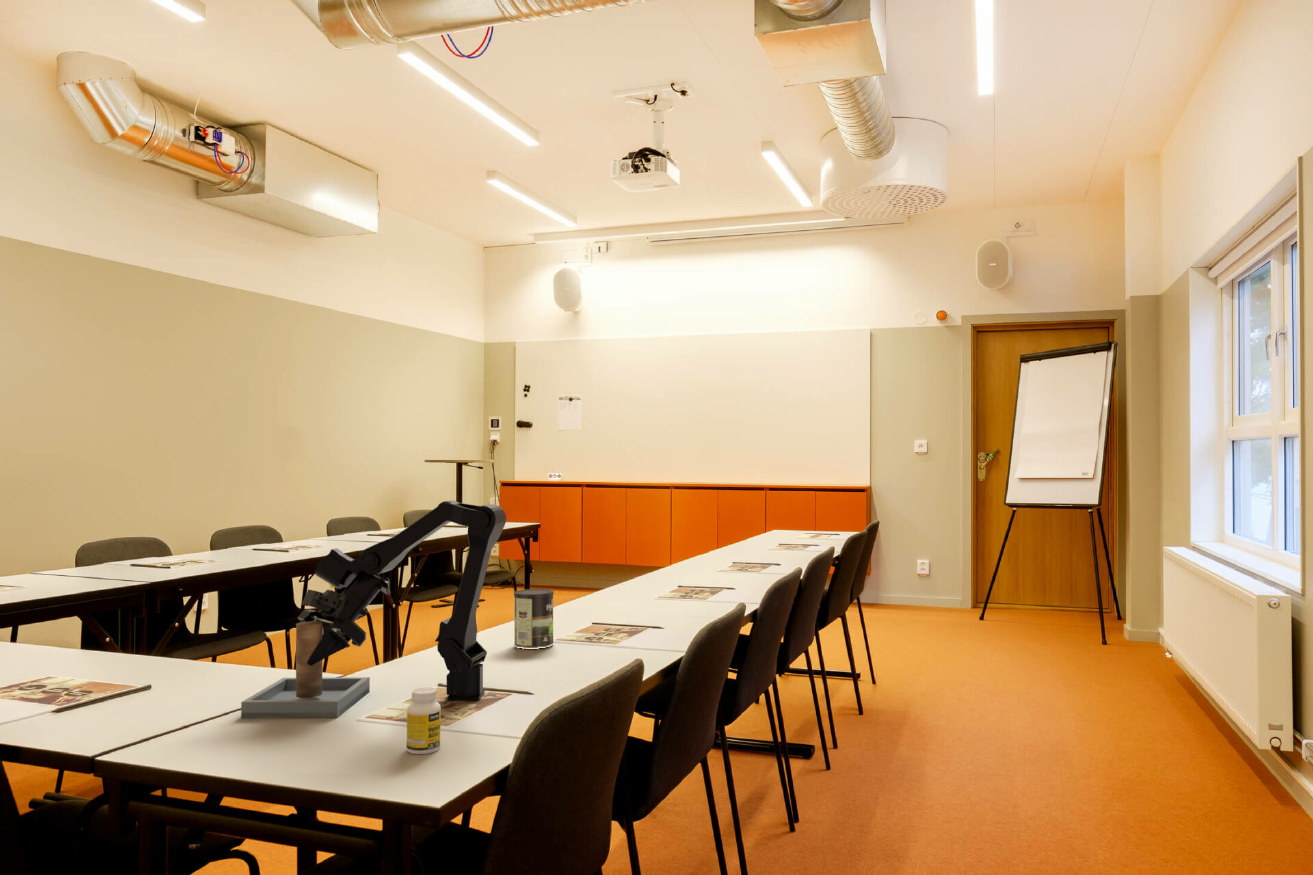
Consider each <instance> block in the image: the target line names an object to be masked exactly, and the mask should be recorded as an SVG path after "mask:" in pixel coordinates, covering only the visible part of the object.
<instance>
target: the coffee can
mask: <svg viewBox="0 0 1313 875" xmlns="http://www.w3.org/2000/svg"><path fill="white" fill-rule="evenodd" d="M554 594H555V593H554V590H552V589H548V588H547V589H546V588H526V589H525V588H524V589H519V590H518V589H517V590H515V591H513V597H514V600H513V602H514V605H513V606H514V609H513V610H514V611H513V612H514V614H513V615H514V618H513V619H514V629H513V630H514V635H513V636H514V645H515V646H516V647H523V648H538V647H547V646H550V645H552V644H554ZM514 645H513V646H514Z"/></svg>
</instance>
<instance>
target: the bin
mask: <svg viewBox="0 0 1313 875" xmlns="http://www.w3.org/2000/svg"><path fill="white" fill-rule="evenodd" d="M370 684H371V681H370V677H368V676H366V677H364V676H363V677H362V676H361V677H359V676H358V677H356V676H355V677H354V676H353V677H348V676H347V677H343V676H342V677H322V694H321V695H320V696H316V697H311V698H298V697H296V677H282V678H280V679H279V680H277V681H275V682H274V683H271V684H270V685H269V686H267V687H265V688H263V689H261V690H260V691H258V692H256V693H255V694H253V695H251V696H250V697H247V698H246V699H244V700H243V701H241V702H240V704H241V705H240V706H241V707H240V708H241V710H240V719H320V718H321V719H328V718H329V719H332V718H333V719H337V718H339V717H341V716H342V715H343V714H344V713H346V712H347V711H348V710H349V709H351V708H352V706H354V705H356V703H357V702H359V701H360V700H361V699H363V698H364V697H365V696H366V695H368V694H369V693H370V691H371V690H370V688H371V687H370V686H371V685H370Z"/></svg>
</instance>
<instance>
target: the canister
mask: <svg viewBox="0 0 1313 875" xmlns="http://www.w3.org/2000/svg"><path fill="white" fill-rule="evenodd" d="M295 625H296V626H295V633H296V634H295V636H296V637H295V638H296V639H295V646H296V647H295V656H296V660H295V678H296V697H298V698H311V697H316V696H320V695H321V694H322V678H323V660H321V661H319V662H317V663H315V664H314V665H312V666H310V665H309V664H307V661H308V659H309V658H310V656H311V654H312V653H313V651H314V650H315V648H316V647H317V646H318V644H319V643H320V641H321V640H322V622H320V621H309V622H301V621H300V622H298V623H296V624H295Z"/></svg>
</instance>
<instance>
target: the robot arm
mask: <svg viewBox="0 0 1313 875" xmlns="http://www.w3.org/2000/svg"><path fill="white" fill-rule="evenodd" d="M450 523H454V524H457V525H460V526H464V527H467V538H468V545H469V546H468V551H467V556H466V559H465V562H464V569H463V572H462V576H461V580H460V584H459V588H458V592H457V597H456V601H455V604H454V609H453V613H452V614H451V617H448V618H447V619H444V620H443V621H440V623H439V627H438V628H439V629H438V634H437V637H436V639H435V640H434V641H435V642H436V643H437V646H436V649H437V652H438V653H439V655H440V657H441V658H443V661H444V663H445V666H446V669H447V671H449V672H448V673H447V674H446V695H447V697H446V700H447V701H477V700H480V699H481V698H482V696H483V695H484V694H485V692H486V690H485V688H484V664H483V662H485V660H486V657H487V654H488V652H487V650H486V649H485V648H484V646H482V645H481V643H480V642H479V641H478V640H477V636H478V635H477V633H478V626H477V620H476V613H477V609H478V606H479V601H480V597H481V594H482V590H483V585H484V582H485V578H486V574H487V573H486V572H487V569H488V566H489V562H490V557H491V552H492V550H493V548H494V546H495V545H496V543H497V542H498V540H499V538H500V536H501V535H502V532H503V530H504V528H505V526H506V523H507V514H506V512H505V511H504V509H503V508H502V507H501V506H500V505H497V504H492V503H491V504H486V505H485V504H484V505H475V504H469V503H462V502H458V501H456V500H445V501H441V502H440V503H439V504H438V505H437V506H436V507H435V508H434V509H431V510H430V511H429V512H428V513H426V514H425V515H424V516H422V517H421V518H419V519H417V520H416V521H415V522H413V523H411V524H410V525H409V526H407V527H405V529H403V530H402V531H400V532H399V533H397V534H395V535H394V536H392V537H390V538H387V539H385V540H382V541H380V542H378V543H375V544H373V545H371V546H369V547H367V548H364V549H363V551H362V552H361V553H360V555H359V557H357V558H352V557H351V556H349V555H347V554H346V553H344V552H343V551H342V550H340V549H338V548H332V549H330V551H329V553H328V554H327V555H325V556H324V557H323V559H322V560H321V561H320V562H318V564H317V566H316V567H315V571H314V574H315V576H316V577H317V578H319V579H320V580H322V581H324V582H325V583H327V584H329V585H331V586H333V587H334V588H336V589H338V590H341V589H343V588H344V590H343V591H342V592H341V593H338V592H337V591H334V590H332V589H326V590H325V591H324V592H323V591H322V592H321V591H319V590H313V589H308V590H306V591H307V592H306V594H305V596H304V598H303V601H302V603H301V605H302V606H305V607H311V608H314V609H316V610H314V609H311V608H310V609H309V608H308V609H304V610H302V611H301V613H300V614H299V615H298V616H297V619H298V620H299V621H300V623H301V622H309V621H320V622H322V640H321V641H320V643H319V644H318V646H317V647H316V648H315V650H314V651H313V653H312V654H311V656H310V658H309V659H308V661H307V664H309V665H310V666H312V665H314V664H315V663H317V662H319V661H321V660H322V661H323V660H324V659H327V658H328V657H330V656H332V655H334V654H337V653H338V652H340V651H343V650H344V649H346V648H350V647H351V645H350V641H351V644H352V645H353V646H354V647H355V646H356V647H359V648H361V646H362V645H363V644H364V643H365V641H367V632H366V631H365V630H364V628H362V627H361V626H360V625H358V623H356V620H358V618H359V617H363V618H364V617H365V615H366V614H367V612H366V610H365V609H367V607H368V605H370V604H371V602H372V601H373V599H375V598H376V596H377V595H378V593H379V592H380V591H381V592H382V593H384V594H386V595H387V596H388V595H389V596H390V594H391V591H390V579H389V578H388V577H386V578H385V577H384V578H381V577H379V576H378V575H379V574H383V573H386V572H389V571H392V570H393V569H395V568H396V567H397V566H398V565H399V563H401V562H402V561H403V559H404V558H405V557H406V556H407V554H408V553H409V552H410V551H411V550H412V549H413V548H415V547H417V545H420V544H421V543H422V542H423V541H425V540H426V539H427V538H429V537H430V536H433V535H434V534H435V533H436V532H438V531H439V530H441V529H442V528H443V527H445V526H446V525H448V524H450ZM317 610H318V611H317ZM294 660H295V661H296V655H295V657H294ZM483 693H484V694H483Z"/></svg>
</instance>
